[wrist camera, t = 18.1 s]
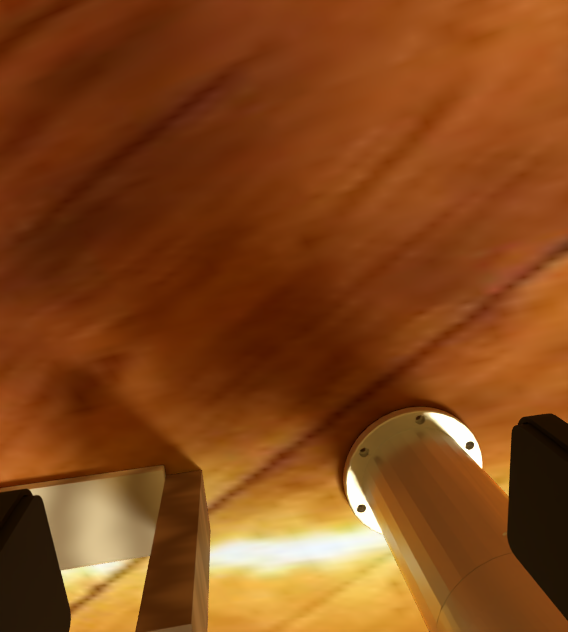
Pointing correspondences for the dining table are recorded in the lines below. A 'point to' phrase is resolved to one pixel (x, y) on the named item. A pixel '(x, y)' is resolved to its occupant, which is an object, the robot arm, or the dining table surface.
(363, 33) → the dining table surface
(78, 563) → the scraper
